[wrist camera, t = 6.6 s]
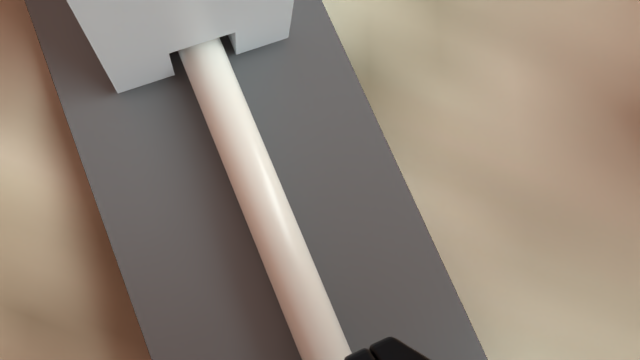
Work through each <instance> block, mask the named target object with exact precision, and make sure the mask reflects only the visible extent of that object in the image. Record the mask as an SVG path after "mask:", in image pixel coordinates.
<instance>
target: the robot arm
mask: <svg viewBox="0 0 640 360" xmlns="http://www.w3.org/2000/svg"><path fill="white" fill-rule="evenodd" d="M344 360H431V359H429V358H428V357H426V356H424V355H423V354H421V353H419V352H418V351H416V350H415V349H413V348H411V347H410V346H408V345H406V344H405V343H403V342H402V341H400V340H398V339H397V338H395V337H386V338H384V339H382V340H380V341H378V342H375V343H373V344H371V345H370V347H369V349H367V348H363V349H360V350H358V351H356V352H354V353H352V354H350V355H347V356H346V357H345V359H344Z"/></svg>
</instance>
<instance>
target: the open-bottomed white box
mask: <svg viewBox="0 0 640 360" xmlns="http://www.w3.org/2000/svg"><path fill="white" fill-rule="evenodd" d="M67 2H68V4H69V6H70V8H71V9H72V11H73V13H74V15H75V17H76V19H77V20H78V22H79V24H80V26H81V28H82V29H83V31H84V33H85V35H86V37H87V39H88V40H89V42H90V44H91V46H92V48H93V49H94V51H95V53H96V55H97V57H98V59H99V60H100V62H101V64H102V66H103V68H104V69H105V71H106V73H107V75H108V77H109V79H110V80H111V82H112V84H113V86H114V88H115V89H116V91H117V93H121V92H124V91H127V90H130V89H134V88H137V87H140V86H143V85H146V84H149V83H152V82H155V81H158V80H161V79H164V78H167V77H170V76H173V75H175V74H174V70H173V67H172V63H171V60H170V56H169V53H172V52H175V51H178V50H181V49H185V48H188V47H191V46H194V45H197V44H200V43H203V42H206V41H210V40H213V39H216V38H219V37H222V36H225V35H228V37H229V39H230V41H231V44H232V46H233V48H234V51H235V53H236V55H237V54H240V53H243V52H246V51H249V50H253V49H256V48H259V47H262V46H265V45H268V44H271V43H274V42H277V41H280V40H283V39H286V38H288V37H289V30H290V24H291V17H292V10H293V4H294V0H67Z"/></svg>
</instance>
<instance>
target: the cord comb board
mask: <svg viewBox="0 0 640 360" xmlns="http://www.w3.org/2000/svg"><path fill="white" fill-rule="evenodd" d="M25 3H26V6H27V9H28V12H29V14H30V17H31V20H32V23H33V26H34V28H35V31H36V34H37V37H38V40H39V43H40V45H41V48H42V51H43V54H44V57H45V60H46V62H47V65H48V68H49V71H50V74H51V77H52V79H53V82H54V85H55V88H56V91H57V94H58V96H59V99H60V102H61V105H62V108H63V110H64V113H65V116H66V119H67V122H68V125H69V127H70V130H71V133H72V136H73V139H74V142H75V144H76V147H77V150H78V153H79V156H80V159H81V161H82V164H83V167H84V170H85V173H86V176H87V178H88V181H89V184H90V187H91V190H92V192H93V195H94V198H95V201H96V204H97V207H98V209H99V212H100V215H101V218H102V221H103V224H104V226H105V229H106V232H107V235H108V238H109V241H110V243H111V246H112V249H113V252H114V255H115V258H116V260H117V263H118V266H119V269H120V272H121V274H122V277H123V280H124V283H125V286H126V289H127V291H128V294H129V297H130V300H131V303H132V306H133V308H134V311H135V314H136V317H137V320H138V323H139V325H140V328H141V331H142V334H143V337H144V340H145V342H146V345H147V348H148V351H149V354H150V356H151V359H152V360H344V359H345V357H346V356H347V355H350V354H352V353H354V352H356V351H358V350H360V349H363V348H367V349H369V347H370V345H371V344H373V343H375V342H378V341H380V340H382V339H384V338H386V337H395V338H397V339H398V340H400V341H402V342H403V343H405V344H406V345H408V346H410V347H411V348H413V349H415V350H416V351H418V352H419V353H421V354H423V355H424V356H426V357H428V358H429V359H431V360H488V359H487V357H486V355H485V353H484V351H483V349H482V346H481V344H480V342H479V340H478V338H477V336H476V333H475V331H474V329H473V327H472V325H471V323H470V320H469V318H468V316H467V314H466V312H465V310H464V308H463V305H462V303H461V301H460V299H459V297H458V295H457V292H456V290H455V288H454V286H453V284H452V282H451V279H450V277H449V275H448V273H447V271H446V269H445V266H444V264H443V262H442V260H441V258H440V256H439V253H438V251H437V249H436V247H435V245H434V243H433V240H432V238H431V236H430V234H429V232H428V230H427V228H426V225H425V223H424V221H423V219H422V217H421V215H420V212H419V210H418V208H417V206H416V204H415V202H414V199H413V197H412V195H411V193H410V191H409V189H408V186H407V184H406V182H405V180H404V178H403V176H402V173H401V171H400V169H399V167H398V165H397V163H396V160H395V158H394V156H393V154H392V152H391V150H390V147H389V145H388V143H387V141H386V139H385V137H384V135H383V132H382V130H381V128H380V126H379V124H378V122H377V119H376V117H375V115H374V113H373V111H372V109H371V106H370V104H369V102H368V100H367V98H366V96H365V93H364V91H363V89H362V87H361V85H360V83H359V80H358V78H357V76H356V74H355V72H354V70H353V67H352V65H351V63H350V61H349V59H348V57H347V55H346V52H345V50H344V48H343V46H342V44H341V42H340V39H339V37H338V35H337V33H336V31H335V29H334V26H333V24H332V22H331V20H330V18H329V16H328V13H327V11H326V9H325V7H324V5H323V3H322V0H294V4H293V10H292V17H291V24H290V30H289V37H288V38H286V39H283V40H280V41H277V42H274V43H271V44H268V45H265V46H262V47H259V48H256V49H253V50H249V51H246V52H243V53H240V54H237V55H236V53H235V51H234V48H233V46H232V44H231V41H230V39H229V37H228V35H225V36H222V37H219V38H216V39H213V40H210V41H206V42H203V43H200V44H197V45H194V46H191V47H188V48H185V49H181V50H178V51H175V52H172V53H169V56H170V60H171V63H172V67H173V70H174V74H175V75H173V76H170V77H167V78H164V79H161V80H158V81H155V82H152V83H149V84H146V85H143V86H140V87H137V88H134V89H130V90H127V91H124V92H121V93H117V91H116V89H115V88H114V86H113V84H112V82H111V80H110V79H109V77H108V75H107V73H106V71H105V69H104V68H103V66H102V64H101V62H100V60H99V59H98V57H97V55H96V53H95V51H94V49H93V48H92V46H91V44H90V42H89V40H88V39H87V37H86V35H85V33H84V31H83V29H82V28H81V26H80V24H79V22H78V20H77V19H76V17H75V15H74V13H73V11H72V9H71V8H70V6H69V4H68V2H67V0H25Z"/></svg>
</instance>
